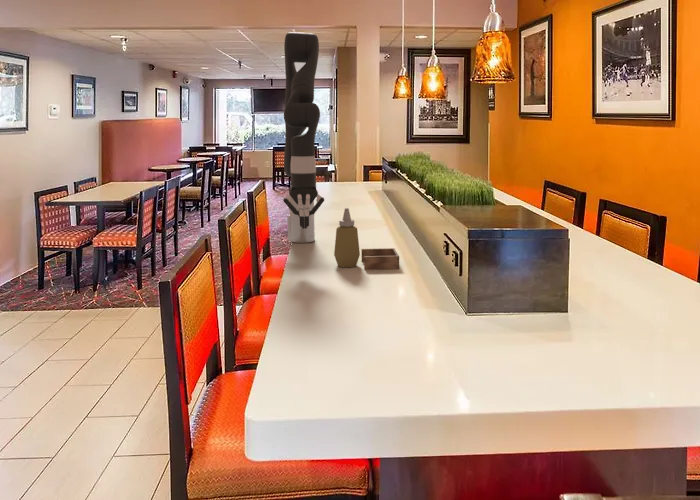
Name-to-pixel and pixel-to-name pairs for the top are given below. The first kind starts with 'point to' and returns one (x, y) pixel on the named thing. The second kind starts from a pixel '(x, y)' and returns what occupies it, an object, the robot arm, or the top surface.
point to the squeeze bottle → (346, 242)
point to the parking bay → (380, 258)
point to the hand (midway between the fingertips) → (304, 228)
